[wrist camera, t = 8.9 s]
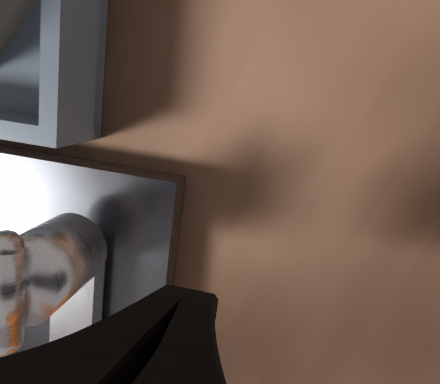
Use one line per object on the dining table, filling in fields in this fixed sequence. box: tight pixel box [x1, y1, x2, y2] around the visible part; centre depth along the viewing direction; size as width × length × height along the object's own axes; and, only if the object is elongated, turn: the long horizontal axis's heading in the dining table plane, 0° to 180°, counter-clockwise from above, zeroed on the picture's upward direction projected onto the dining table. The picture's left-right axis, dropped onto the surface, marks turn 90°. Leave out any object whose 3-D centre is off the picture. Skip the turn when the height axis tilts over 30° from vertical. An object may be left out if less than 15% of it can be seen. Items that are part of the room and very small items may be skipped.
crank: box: [0, 213, 107, 356], centre depth 13 cm, size 9×3×5 cm, turn 173°
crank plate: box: [0, 145, 185, 357], centre depth 17 cm, size 12×11×1 cm
